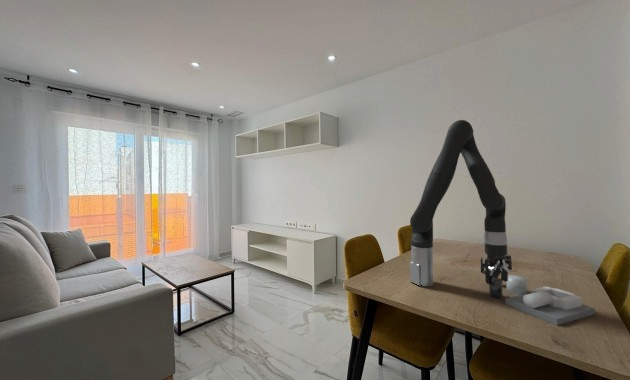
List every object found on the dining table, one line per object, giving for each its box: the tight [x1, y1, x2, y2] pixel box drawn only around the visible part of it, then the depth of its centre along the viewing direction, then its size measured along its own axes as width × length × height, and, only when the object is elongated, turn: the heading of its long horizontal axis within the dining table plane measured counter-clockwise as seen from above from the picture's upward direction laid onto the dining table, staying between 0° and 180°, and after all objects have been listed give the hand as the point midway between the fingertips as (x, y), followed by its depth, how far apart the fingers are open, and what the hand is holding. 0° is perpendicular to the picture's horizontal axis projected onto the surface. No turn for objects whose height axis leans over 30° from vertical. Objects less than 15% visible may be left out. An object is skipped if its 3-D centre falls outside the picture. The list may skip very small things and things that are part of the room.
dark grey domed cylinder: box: [488, 277, 503, 300], centre depth 103 cm, size 4×4×7 cm
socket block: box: [505, 285, 596, 326], centre depth 92 cm, size 20×16×6 cm
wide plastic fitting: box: [506, 274, 528, 296], centre depth 107 cm, size 7×7×6 cm
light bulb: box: [489, 266, 502, 278], centre depth 115 cm, size 6×6×10 cm
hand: (497, 282), depth 103 cm, fingers open, 8 cm apart
